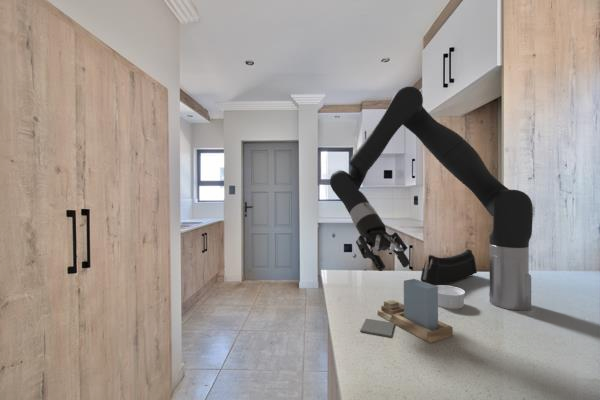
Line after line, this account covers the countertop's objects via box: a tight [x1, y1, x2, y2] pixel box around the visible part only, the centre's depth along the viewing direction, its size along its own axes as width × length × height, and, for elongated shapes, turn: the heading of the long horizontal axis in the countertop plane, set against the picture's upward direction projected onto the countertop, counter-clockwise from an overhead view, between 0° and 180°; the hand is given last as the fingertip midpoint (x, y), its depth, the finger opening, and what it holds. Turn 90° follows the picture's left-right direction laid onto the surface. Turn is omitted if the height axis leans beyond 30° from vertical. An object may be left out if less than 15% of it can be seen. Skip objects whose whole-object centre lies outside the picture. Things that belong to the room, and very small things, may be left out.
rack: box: [377, 299, 454, 344], centre depth 72 cm, size 17×7×4 cm, turn 26°
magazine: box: [420, 248, 478, 286], centre depth 107 cm, size 17×3×30 cm
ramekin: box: [437, 284, 466, 310], centre depth 85 cm, size 9×9×4 cm
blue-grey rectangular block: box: [403, 278, 439, 331], centre depth 70 cm, size 7×4×11 cm, turn 26°
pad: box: [359, 318, 395, 338], centre depth 71 cm, size 7×7×1 cm
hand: (395, 267), depth 77 cm, fingers open, 8 cm apart
